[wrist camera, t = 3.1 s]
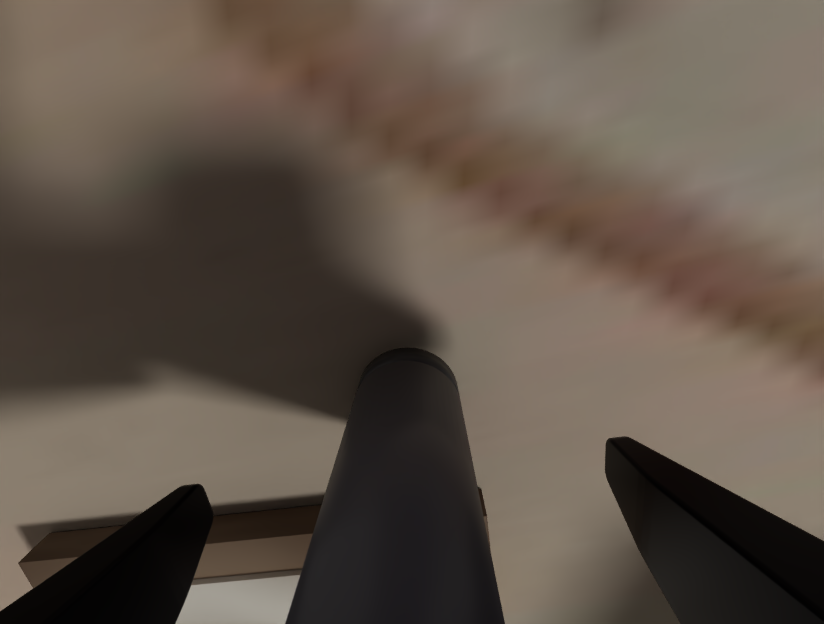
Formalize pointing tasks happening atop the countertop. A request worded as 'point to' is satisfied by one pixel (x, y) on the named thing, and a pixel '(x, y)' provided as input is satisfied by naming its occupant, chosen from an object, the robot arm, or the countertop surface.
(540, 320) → the countertop surface
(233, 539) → the clipboard
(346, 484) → the marker
